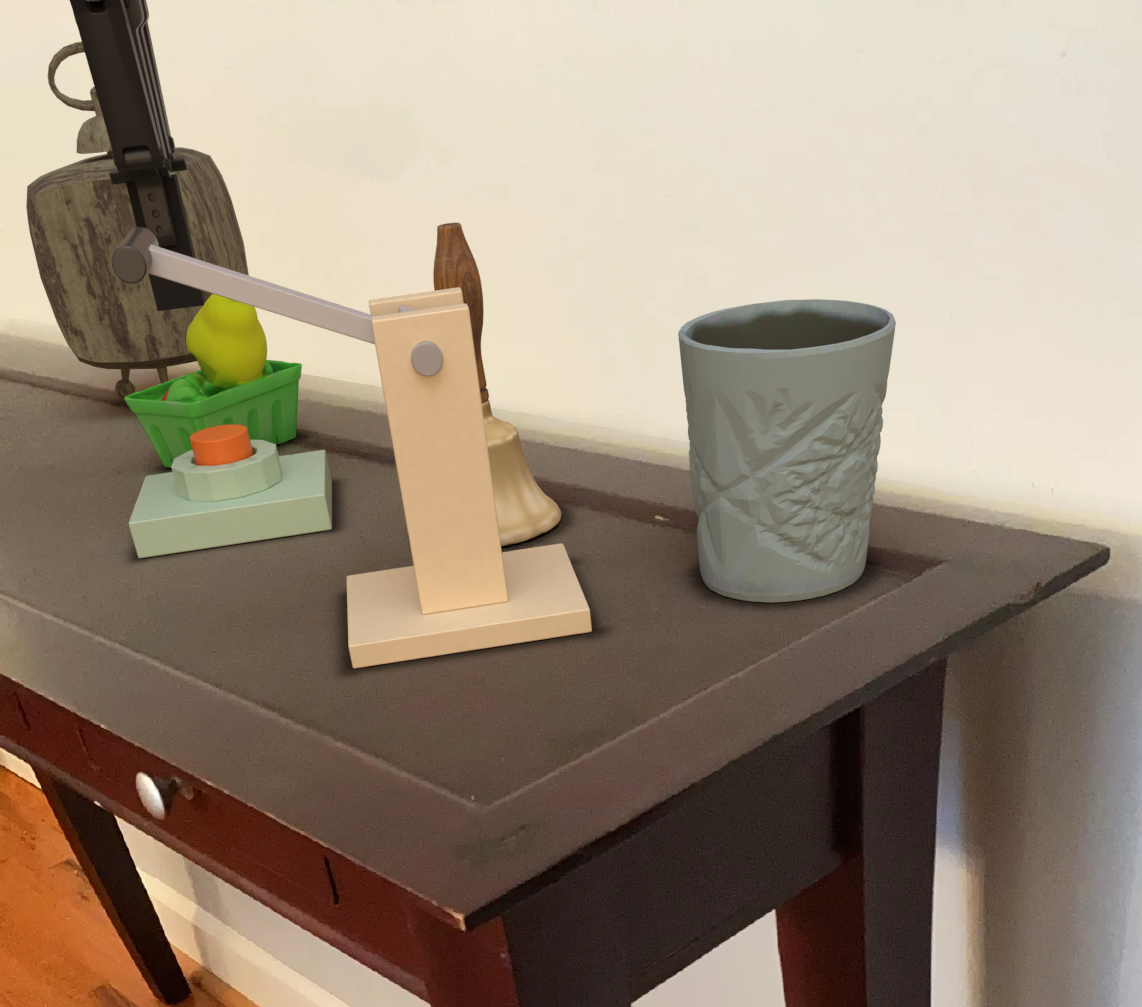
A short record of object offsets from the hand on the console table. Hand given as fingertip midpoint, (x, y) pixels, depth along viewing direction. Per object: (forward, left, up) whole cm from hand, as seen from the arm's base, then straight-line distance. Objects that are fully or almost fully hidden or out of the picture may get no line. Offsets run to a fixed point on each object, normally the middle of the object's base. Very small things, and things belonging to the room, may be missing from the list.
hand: (181, 305), depth 82 cm
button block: (0, 0, -13) cm, 13 cm away
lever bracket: (+13, -22, -13) cm, 29 cm away
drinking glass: (+30, -23, -13) cm, 40 cm away
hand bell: (+16, -9, -13) cm, 22 cm away
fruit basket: (-1, +16, -13) cm, 20 cm away
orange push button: (0, 0, -9) cm, 9 cm away
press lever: (+7, -22, +2) cm, 23 cm away
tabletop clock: (-7, +34, -13) cm, 37 cm away
